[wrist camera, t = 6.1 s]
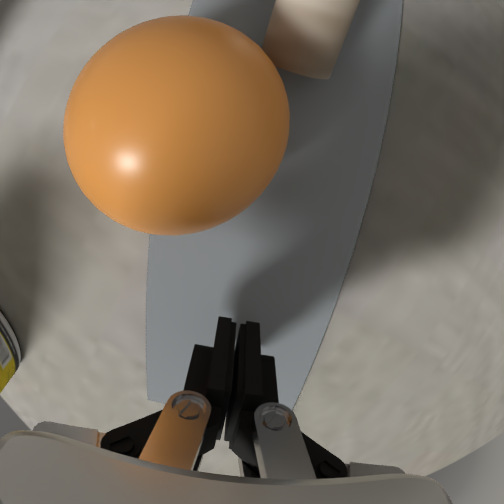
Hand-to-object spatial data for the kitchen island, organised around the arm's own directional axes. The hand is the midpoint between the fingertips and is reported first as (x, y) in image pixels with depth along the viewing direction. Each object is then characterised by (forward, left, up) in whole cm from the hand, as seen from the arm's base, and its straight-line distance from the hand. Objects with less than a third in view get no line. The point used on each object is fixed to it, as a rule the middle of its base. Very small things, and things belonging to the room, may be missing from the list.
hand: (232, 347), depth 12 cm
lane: (0, -5, -1) cm, 5 cm away
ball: (+3, -8, +2) cm, 9 cm away
